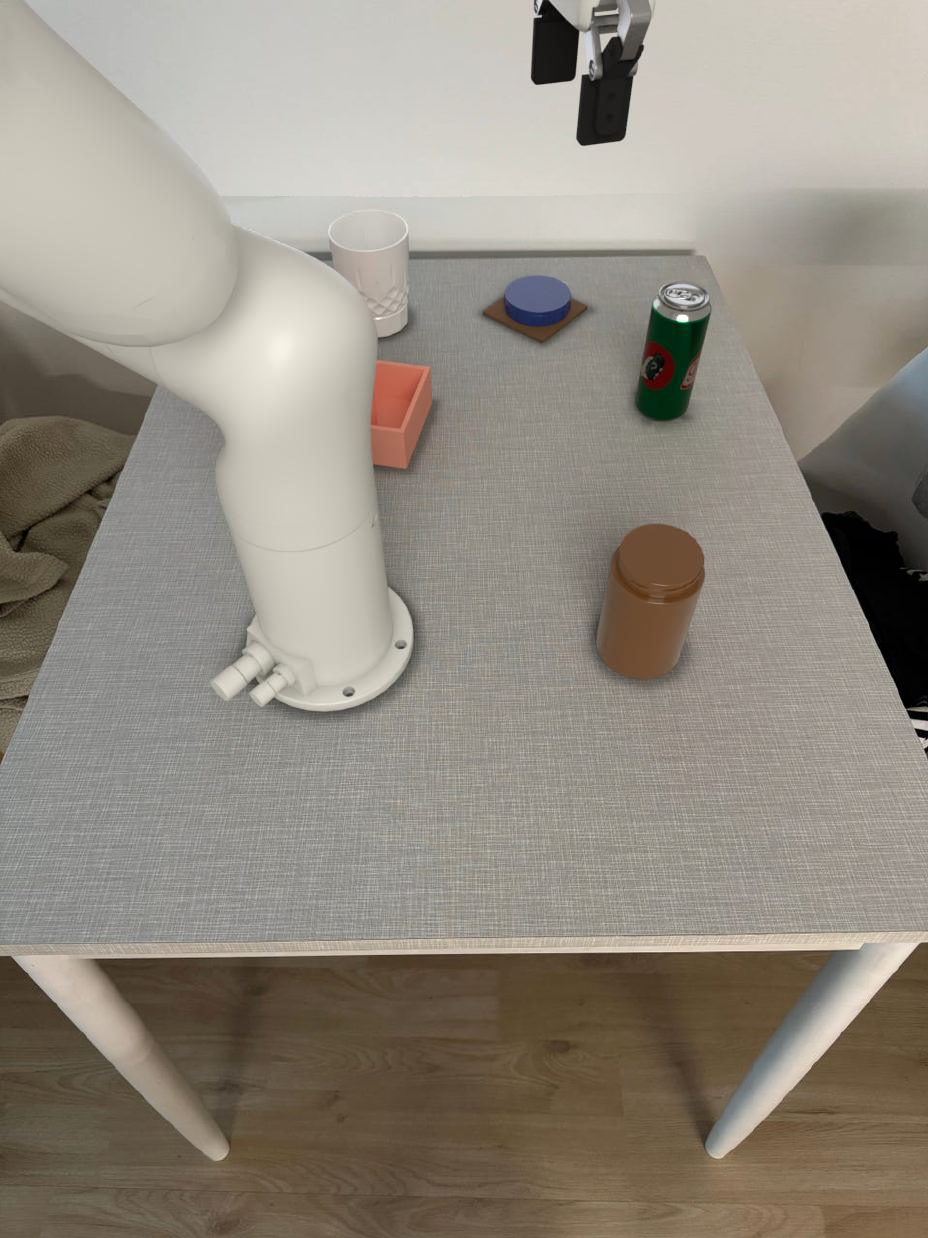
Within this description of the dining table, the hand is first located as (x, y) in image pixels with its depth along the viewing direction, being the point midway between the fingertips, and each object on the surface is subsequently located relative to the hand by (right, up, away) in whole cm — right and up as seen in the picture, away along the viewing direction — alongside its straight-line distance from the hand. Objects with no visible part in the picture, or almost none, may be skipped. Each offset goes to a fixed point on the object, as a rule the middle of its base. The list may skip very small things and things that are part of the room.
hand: (575, 109), depth 59 cm
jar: (+6, -37, +7) cm, 38 cm away
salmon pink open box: (-21, -16, +24) cm, 35 cm away
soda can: (+11, -14, +25) cm, 31 cm away
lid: (0, 0, +33) cm, 33 cm away
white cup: (-17, -3, +34) cm, 38 cm away
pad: (0, -2, +34) cm, 34 cm away
